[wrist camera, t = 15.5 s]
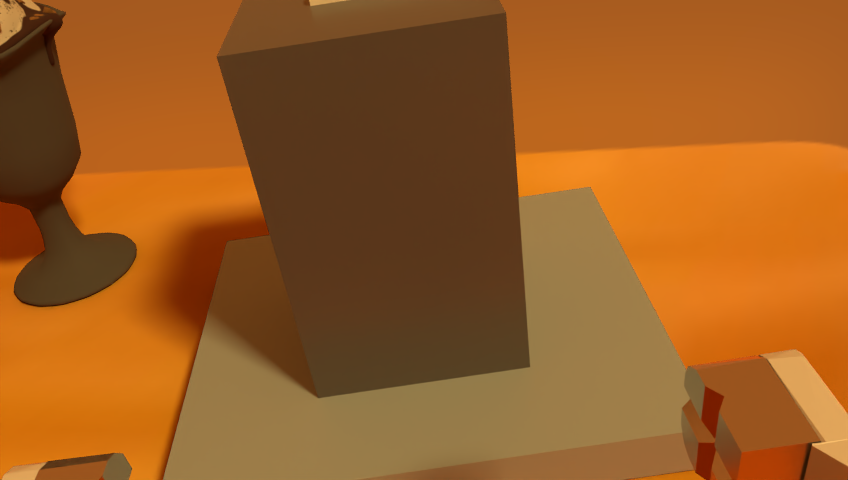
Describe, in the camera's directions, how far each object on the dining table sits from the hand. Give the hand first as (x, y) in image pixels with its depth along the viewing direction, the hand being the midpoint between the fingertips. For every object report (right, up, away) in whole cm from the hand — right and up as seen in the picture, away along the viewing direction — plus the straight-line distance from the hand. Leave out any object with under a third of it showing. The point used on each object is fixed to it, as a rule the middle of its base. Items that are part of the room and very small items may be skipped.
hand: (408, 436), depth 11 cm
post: (0, -1, +13) cm, 13 cm away
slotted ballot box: (0, +1, +12) cm, 13 cm away
